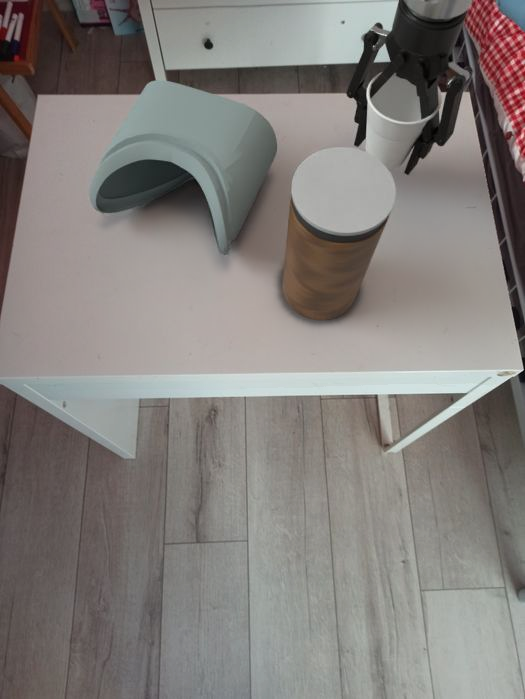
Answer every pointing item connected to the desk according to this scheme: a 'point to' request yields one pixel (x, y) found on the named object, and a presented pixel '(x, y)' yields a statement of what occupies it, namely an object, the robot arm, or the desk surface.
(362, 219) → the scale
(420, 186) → the desk surface
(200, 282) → the desk surface
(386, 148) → the cup
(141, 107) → the sage-green arched shell
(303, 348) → the desk surface
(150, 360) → the desk surface
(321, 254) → the plinth
